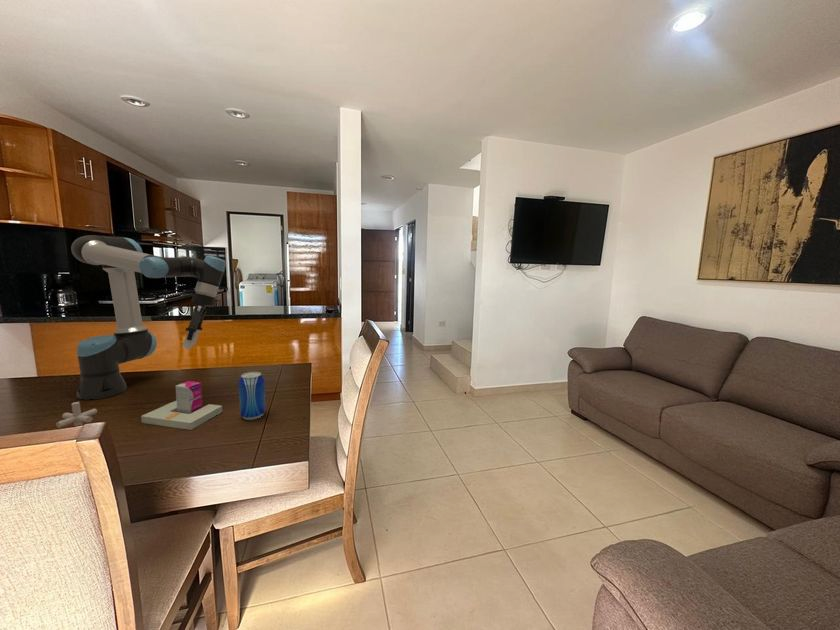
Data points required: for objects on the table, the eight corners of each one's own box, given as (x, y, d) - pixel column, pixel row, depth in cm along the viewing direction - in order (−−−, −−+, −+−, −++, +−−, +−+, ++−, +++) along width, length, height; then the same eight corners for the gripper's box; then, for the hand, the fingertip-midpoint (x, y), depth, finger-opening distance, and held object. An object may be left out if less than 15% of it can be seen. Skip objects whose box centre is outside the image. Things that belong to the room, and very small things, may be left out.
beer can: (241, 412, 127) (239, 372, 124) (265, 409, 130) (264, 369, 127) (239, 422, 119) (237, 379, 116) (265, 419, 122) (263, 377, 120)
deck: (177, 406, 130) (177, 399, 130) (222, 412, 126) (222, 405, 126) (141, 422, 116) (140, 415, 116) (191, 430, 113) (190, 422, 112)
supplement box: (189, 417, 120) (187, 387, 119) (176, 415, 122) (174, 385, 120) (203, 411, 126) (201, 382, 124) (191, 408, 127) (189, 380, 126)
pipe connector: (72, 442, 103) (68, 411, 102) (48, 437, 105) (43, 407, 104) (108, 426, 113) (105, 398, 111) (85, 422, 115) (81, 395, 113)
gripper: (213, 296, 124) (196, 352, 122) (217, 298, 146) (203, 345, 144) (190, 290, 121) (171, 348, 118) (197, 293, 143) (182, 341, 140)
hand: (188, 346), depth 131 cm, fingers open, 13 cm apart
